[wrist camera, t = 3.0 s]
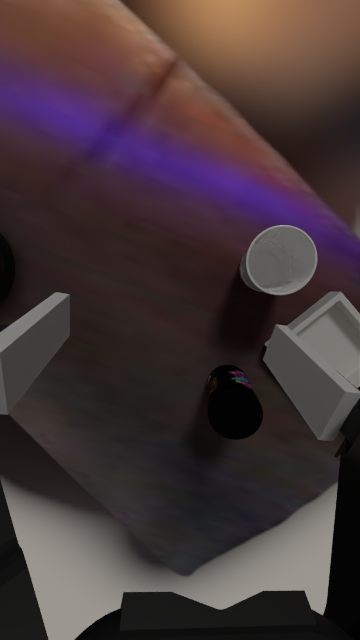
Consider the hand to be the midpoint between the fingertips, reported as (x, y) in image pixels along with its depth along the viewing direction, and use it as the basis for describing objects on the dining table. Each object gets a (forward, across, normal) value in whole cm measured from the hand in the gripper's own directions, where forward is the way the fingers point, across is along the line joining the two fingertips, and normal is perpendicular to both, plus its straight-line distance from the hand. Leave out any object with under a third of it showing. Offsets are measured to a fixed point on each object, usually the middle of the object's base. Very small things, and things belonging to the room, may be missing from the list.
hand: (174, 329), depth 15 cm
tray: (+18, +26, -8) cm, 32 cm away
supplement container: (+18, +13, -17) cm, 28 cm away
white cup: (+23, +14, +2) cm, 27 cm away
